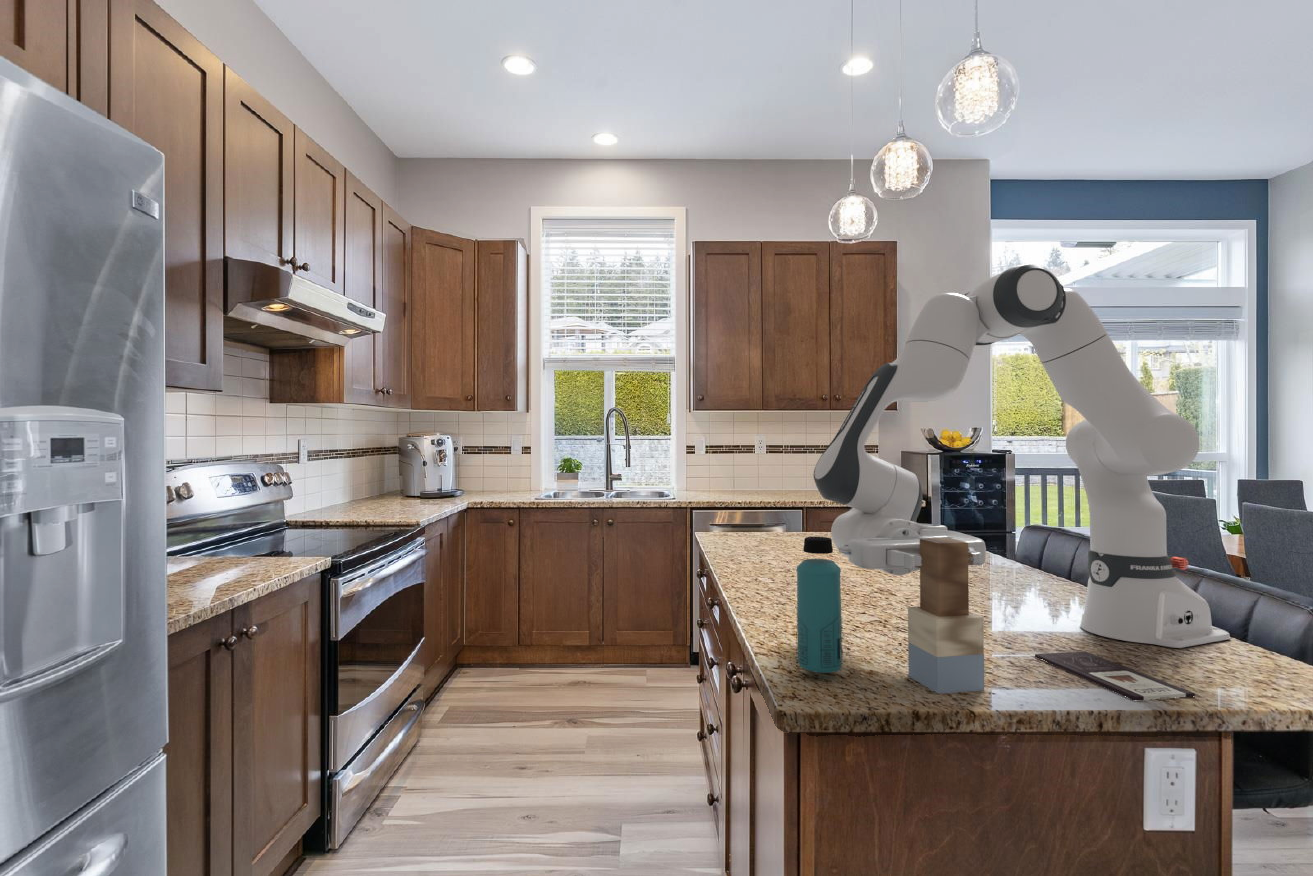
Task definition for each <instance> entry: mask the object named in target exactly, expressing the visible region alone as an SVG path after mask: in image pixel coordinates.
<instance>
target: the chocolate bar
mask: <svg viewBox="0 0 1313 876" xmlns="http://www.w3.org/2000/svg"><path fill="white" fill-rule="evenodd" d="M1035 657H1037V658H1039V659H1043V660H1045V661H1047V662H1048V663H1047V664H1049V663H1050V664H1049V665H1051V664H1053V665H1054V666H1053V665H1052V666H1053V667H1055V666H1056V668H1057V669H1060V668H1061V670H1062V669H1063V670H1062V671H1064V670H1065V672H1067V673H1069V674H1071V673H1072V675H1074V676H1077V677H1078V678H1081V679H1083V678H1084V679H1083V680H1085V679H1086V680H1085V681H1087V680H1088V682H1090V683H1092V682H1094V683H1096V684H1098V685H1097V686H1099V685H1100V686H1099V687H1101V686H1102V687H1101V688H1103V687H1105V688H1104V689H1106V688H1107V689H1106V690H1108V689H1109V690H1108V691H1110V690H1111V691H1110V692H1112V691H1114V692H1113V693H1115V692H1116V693H1115V694H1117V693H1118V695H1119V694H1120V696H1121V697H1124V696H1126V697H1128V698H1130V699H1129V700H1131V699H1132V700H1131V701H1133V700H1146V701H1151V700H1150V699H1161V700H1166V699H1165V698H1175V697H1176V698H1175V699H1180V698H1179V697H1189V698H1194V697H1193V696H1195V695H1196V694H1195V692H1193V691H1189V690H1187V689H1185V688H1182V687H1179V686H1177V685H1174V684H1172V683H1169V682H1166V681H1164V680H1161V679H1158V678H1156V677H1154V676H1150V675H1148V674H1145V673H1143V672H1140V671H1138V670H1135V669H1133V668H1131V667H1127V666H1125V665H1123V664H1119V663H1117V662H1115V661H1111V660H1109V659H1106V658H1103V657H1101V656H1099V655H1095V654H1093V653H1091V652H1087V651H1073V652H1072V651H1071V652H1069V651H1068V652H1053V653H1052V652H1051V653H1049V652H1048V653H1034V658H1035ZM1037 658H1036V659H1037ZM1039 659H1038V660H1039ZM1094 683H1093V684H1094ZM1096 684H1095V685H1096ZM1126 697H1125V698H1126ZM1177 697H1178V698H1177ZM1128 698H1127V699H1128ZM1148 699H1149V700H1148Z"/></svg>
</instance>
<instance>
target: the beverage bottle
mask: <svg viewBox="0 0 1313 876" xmlns="http://www.w3.org/2000/svg"><path fill="white" fill-rule="evenodd" d="M803 542H804V543H803V551H802V552H804V553H808V554H814V555H815V554H816V555H817V554H818V555H827V554H832V553H834V552H833V548H834V547H833V540H832V537H825V536H807V537H804V540H803ZM841 572H842V569H841V567H840V566H839V565H838V564H837V563H836V562H835V561H833V560H831V559H825V558H806V559H804V560H803V561H802V562H800V563H799V564H798V565H797V566H796V586H797V587H796V589H797V590H796V596H797V597H796V599H797V600H796V602H797V603H796V617H795V618H796V630H797V631H795V632H796V633H795V635H796V636H795V637H796V651H797V652H796V658H797V663H798V665H799V667H800V668H802V669H804V670H806V671H810V672H815V673H823V674H824V673H826V674H827V673H834V672H838V671H840V670H841V669H842V666H843V663H844V662H843V660H844V659H843V658H844V655H843V651H844V648H843V640H844V637H843V635H842V634H843V632H844V631H843V629H844V628H843V615H842V601H843V600H842V595H841V594H842V591H841V588H842V587H841Z"/></svg>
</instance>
